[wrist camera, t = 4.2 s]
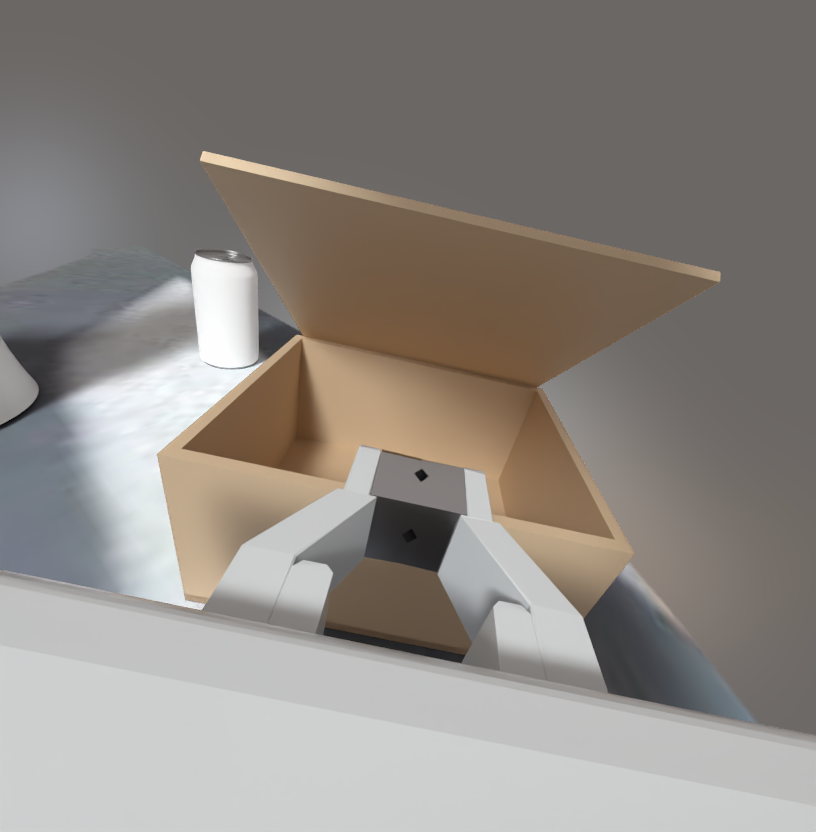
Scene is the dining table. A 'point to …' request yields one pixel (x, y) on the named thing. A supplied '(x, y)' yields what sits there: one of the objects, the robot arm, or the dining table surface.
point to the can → (226, 307)
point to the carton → (385, 429)
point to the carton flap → (443, 276)
